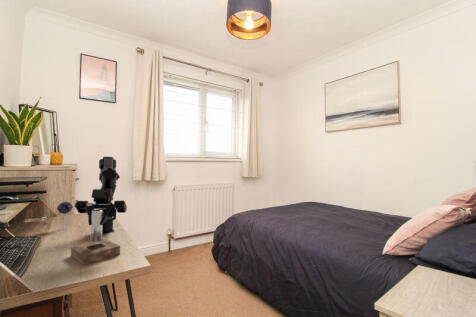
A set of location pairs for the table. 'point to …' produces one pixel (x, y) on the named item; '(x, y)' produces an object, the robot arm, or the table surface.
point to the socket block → (95, 251)
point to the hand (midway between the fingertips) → (95, 224)
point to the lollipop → (64, 209)
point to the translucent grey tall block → (96, 225)
